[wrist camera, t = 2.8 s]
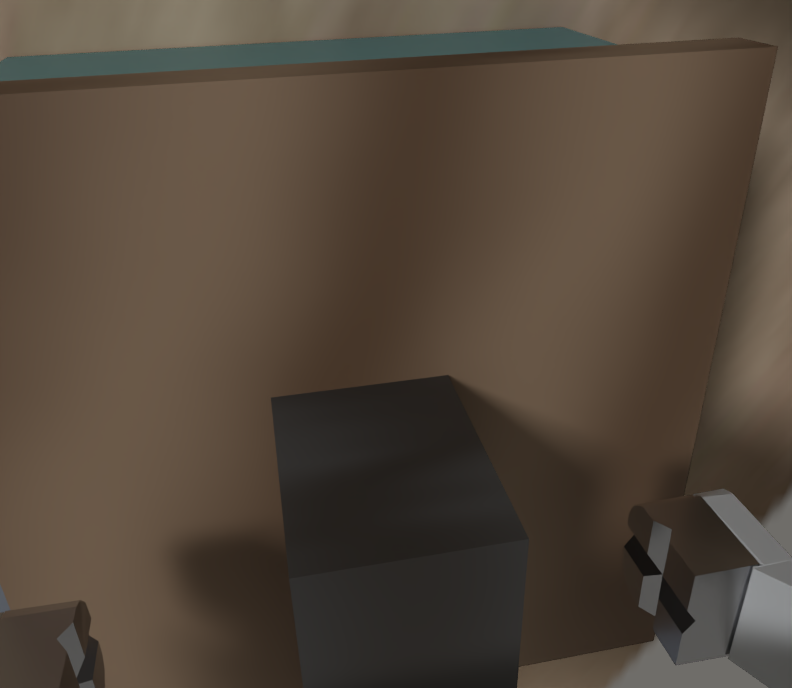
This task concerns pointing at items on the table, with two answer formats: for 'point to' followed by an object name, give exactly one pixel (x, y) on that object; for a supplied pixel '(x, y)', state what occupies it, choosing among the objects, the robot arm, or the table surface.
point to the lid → (361, 352)
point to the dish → (289, 53)
